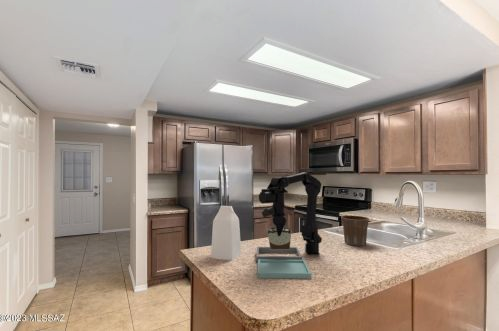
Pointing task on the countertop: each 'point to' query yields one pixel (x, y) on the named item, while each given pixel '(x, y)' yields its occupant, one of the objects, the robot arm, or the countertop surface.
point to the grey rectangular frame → (267, 250)
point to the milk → (226, 235)
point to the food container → (279, 238)
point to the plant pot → (355, 230)
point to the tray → (283, 269)
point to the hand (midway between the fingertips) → (278, 234)
